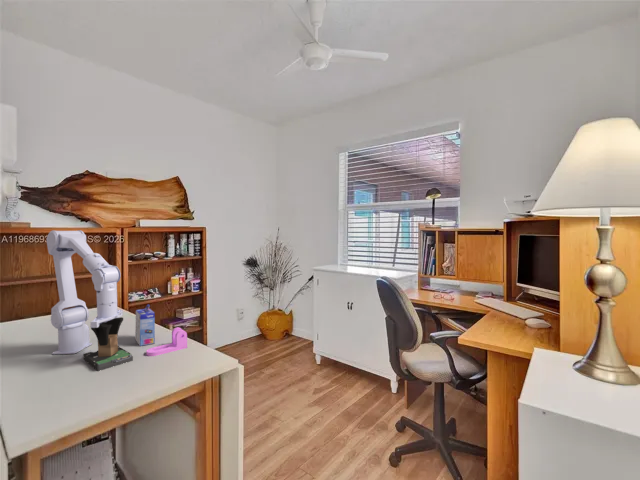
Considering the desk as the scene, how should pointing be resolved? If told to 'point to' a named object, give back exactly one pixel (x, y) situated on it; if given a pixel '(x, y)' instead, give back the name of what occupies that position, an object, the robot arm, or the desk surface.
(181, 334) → the bracket
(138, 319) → the ink cartridge box
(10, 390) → the desk surface
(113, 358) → the disk drive
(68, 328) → the robot arm
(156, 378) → the desk surface
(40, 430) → the desk surface
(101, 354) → the walnut block
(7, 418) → the desk surface
